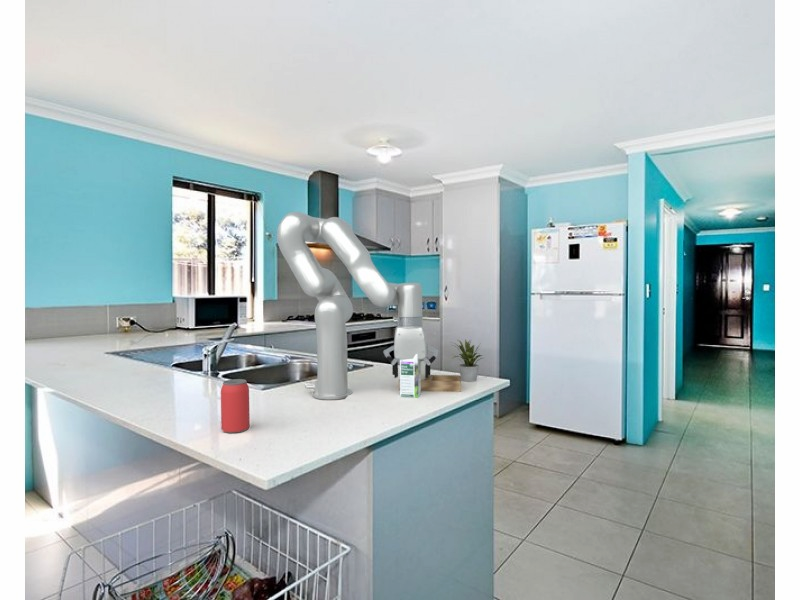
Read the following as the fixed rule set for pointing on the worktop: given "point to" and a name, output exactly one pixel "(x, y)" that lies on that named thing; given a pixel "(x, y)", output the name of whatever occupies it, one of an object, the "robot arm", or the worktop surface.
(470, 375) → the house plant
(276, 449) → the worktop surface
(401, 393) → the syrup box
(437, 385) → the wooden tray
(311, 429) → the worktop surface
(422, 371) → the ceramic jar
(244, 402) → the beer can
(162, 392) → the worktop surface
